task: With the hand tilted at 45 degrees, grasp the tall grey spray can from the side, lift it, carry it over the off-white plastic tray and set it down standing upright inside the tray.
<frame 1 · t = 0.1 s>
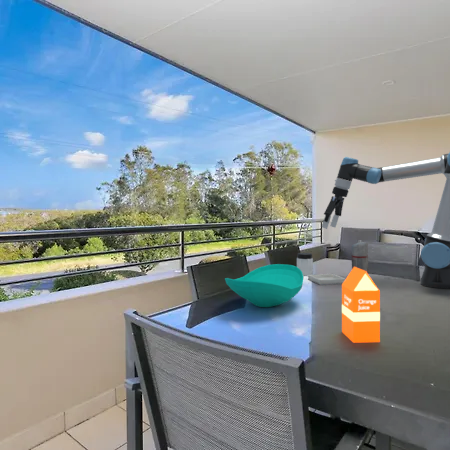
hand: (328, 227, 182), 28 cm above the table, tool tilted 20°, fingers open, 13 cm apart
jar: (304, 274, 199), on the table
tray: (326, 281, 179), on the table
orange juice: (360, 337, 102), on the table
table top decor: (265, 305, 137), on the table
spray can: (360, 281, 179), on the table
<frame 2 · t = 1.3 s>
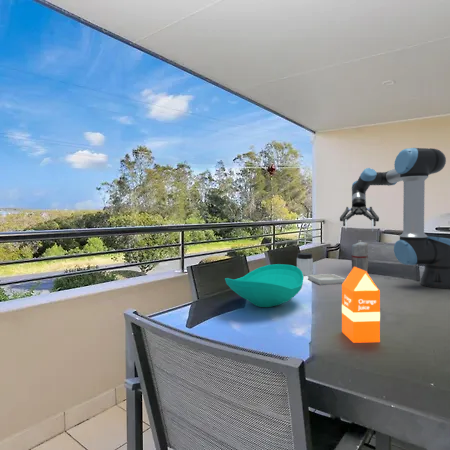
hand: (359, 229, 188), 26 cm above the table, tool tilted 45°, fingers open, 13 cm apart
nothing on the table moved.
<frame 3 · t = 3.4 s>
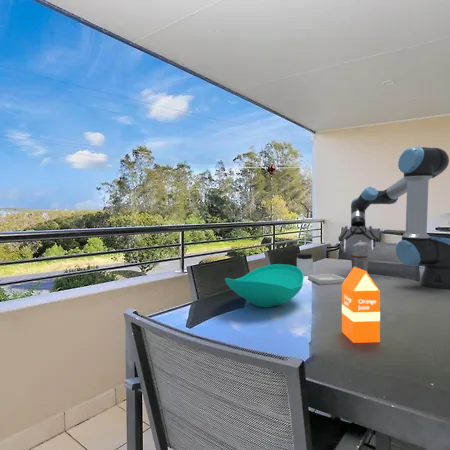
hand: (358, 250, 182), 15 cm above the table, tool tilted 45°, fingers open, 13 cm apart
nothing on the table moved.
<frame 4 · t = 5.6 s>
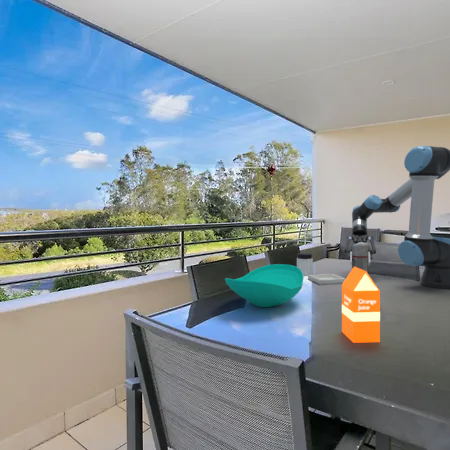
hand: (360, 263, 175), 10 cm above the table, tool tilted 45°, fingers closed on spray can, 8 cm apart
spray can: (360, 281, 179), on the table, touching gripper
everything else where it was.
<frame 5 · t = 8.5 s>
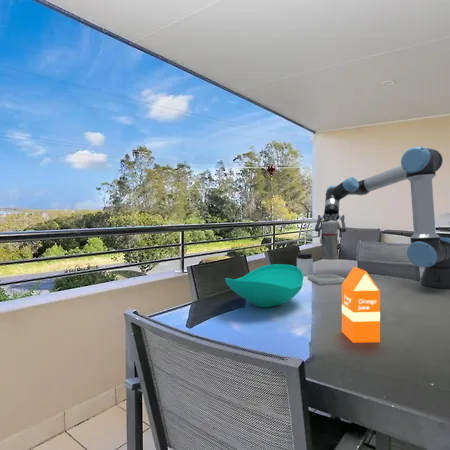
hand: (329, 241, 176), 21 cm above the table, tool tilted 45°, fingers closed on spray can, 8 cm apart
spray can: (329, 259, 180), point 11 cm above the table, touching gripper
everything else where it was.
when the fingers open (11 cm above the table, at t = 11.8 s): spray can stays where it is, resting on tray.
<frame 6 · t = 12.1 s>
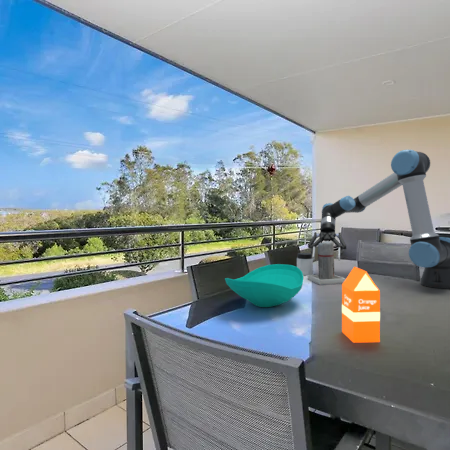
hand: (326, 258, 176), 12 cm above the table, tool tilted 45°, fingers open, 12 cm apart
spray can: (326, 280, 179), point 1 cm above the table, touching tray
everything else where it was.
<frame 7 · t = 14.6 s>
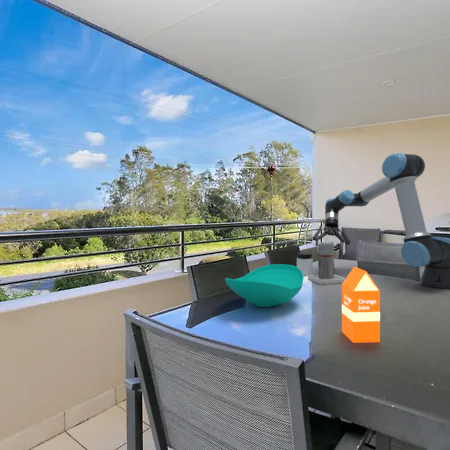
hand: (330, 252, 190), 14 cm above the table, tool tilted 40°, fingers open, 13 cm apart
nothing on the table moved.
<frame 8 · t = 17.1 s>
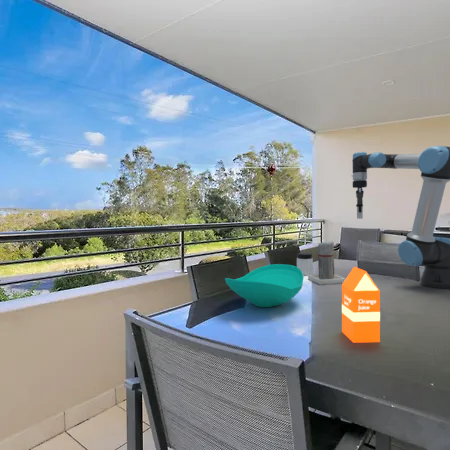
hand: (359, 218, 196), 32 cm above the table, tool pointing down, fingers open, 13 cm apart
nothing on the table moved.
at the end: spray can inside the target area on the tray (0.1 cm from its centre), point 0.6 cm above the tray's base; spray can tilted 0°; the gripper is holding nothing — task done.
